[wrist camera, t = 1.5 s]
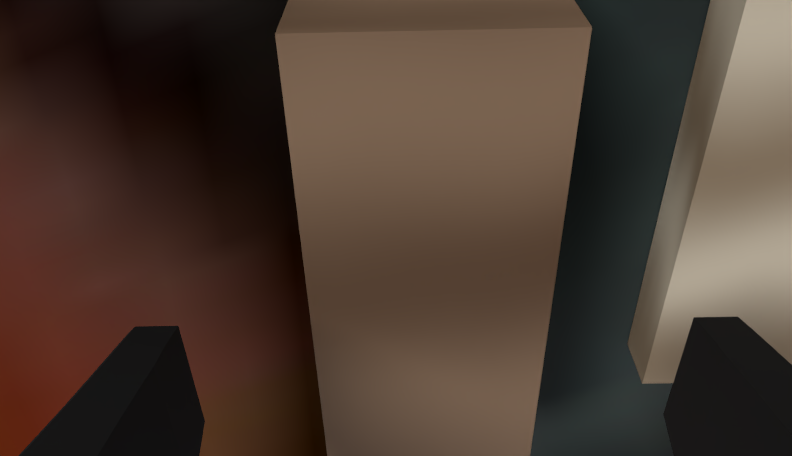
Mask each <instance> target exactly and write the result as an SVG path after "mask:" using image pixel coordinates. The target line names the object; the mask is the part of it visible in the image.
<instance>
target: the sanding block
mask: <svg viewBox="0 0 792 456" xmlns="http://www.w3.org/2000/svg"><path fill="white" fill-rule="evenodd" d="M591 31H592V26H591V25H590V23H589V22H588V20H587V19H586V17H585V16H584V14H583V13H582V11H581V10H580V8H579V7H578V5H577V4H576V2H575V1H574V0H288V2H287V5H286V7H285V10H284V12H283V15H282V17H281V20H280V22H279V25H278V27H277V30H276V33H275V38H276V46H277V54H278V62H279V70H280V78H281V86H282V94H283V102H284V110H285V118H286V126H287V134H288V142H289V150H290V158H291V166H292V174H293V182H294V190H295V198H296V206H297V214H298V222H299V230H300V238H301V246H302V255H303V263H304V271H305V279H306V287H307V295H308V303H309V311H310V319H311V327H312V335H313V343H314V351H315V359H316V367H317V375H318V383H319V391H320V399H321V407H322V415H323V423H324V431H325V439H326V447H327V455H328V456H530V452H531V445H532V438H533V431H534V424H535V417H536V411H537V404H538V397H539V390H540V383H541V376H542V369H543V362H544V355H545V349H546V342H547V335H548V328H549V321H550V314H551V307H552V300H553V293H554V286H555V280H556V273H557V266H558V259H559V252H560V245H561V238H562V231H563V224H564V217H565V211H566V204H567V197H568V190H569V183H570V176H571V169H572V162H573V155H574V149H575V142H576V135H577V128H578V121H579V114H580V107H581V100H582V93H583V86H584V80H585V73H586V66H587V59H588V52H589V45H590V38H591Z"/></svg>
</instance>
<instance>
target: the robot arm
mask: <svg viewBox="0 0 792 456" xmlns="http://www.w3.org/2000/svg"><path fill="white" fill-rule="evenodd" d="M664 418H665V422H666V426H667V430H668V434H669V438H670V442H671V446H672V450H673V453H674V456H792V365H791V364H790V363H789V362H788V361H787V360H786V359H785V358H784V357H783V356H782V355H780V354H779V353H778V352H777V351H776V350H775V349H774V348H773V347H772V346H771V345H769V344H768V343H767V342H766V341H765V340H764V339H763V338H762V337H761V336H760V335H758V334H757V333H756V332H755V331H754V330H753V329H752V328H751V327H749V326H748V325H747V324H746V323H745V322H744V321H742V320H741V319H740V318H739V317H694V318H693V321H692V325H691V328H690V331H689V334H688V337H687V341H686V344H685V347H684V350H683V353H682V357H681V360H680V363H679V366H678V369H677V373H676V376H675V379H674V382H673V385H672V389H671V392H670V395H669V398H668V401H667V405H666V408H665V411H664ZM204 422H205V420H204V417H203V413H202V410H201V406H200V403H199V399H198V395H197V392H196V388H195V385H194V381H193V377H192V374H191V370H190V367H189V363H188V359H187V356H186V352H185V349H184V345H183V342H182V338H181V334H180V331H179V327H178V326H148V327H134V328H133V329H132V330H131V331H130V332H129V333H128V335H127V336H126V337H125V338H124V339H123V340H122V341H121V342H120V343H119V345H118V346H117V347H116V348H115V349H114V350H113V351H112V352H111V354H110V355H109V356H108V357H107V358H106V359H105V360H104V362H103V363H102V364H101V365H100V366H99V367H98V369H97V370H96V371H95V372H94V373H93V374H92V375H91V377H90V378H89V379H88V380H87V381H86V382H85V383H84V384H83V386H82V387H81V388H80V389H79V390H78V391H77V392H76V393H75V395H74V396H73V397H72V398H71V399H70V400H69V401H68V403H67V404H66V405H65V406H64V407H63V408H62V409H61V410H60V411H59V413H58V414H57V415H56V416H55V417H54V418H53V419H52V420H51V421H50V422H49V423H48V424H47V426H46V427H45V428H44V429H43V430H42V431H41V432H40V433H39V434H38V435H37V436H36V437H35V439H34V440H33V441H32V442H31V443H30V444H29V445H28V446H27V447H26V448H25V449H24V450H23V452H22V453H21V454H20V455H19V456H199V453H200V447H201V441H202V435H203V428H204Z"/></svg>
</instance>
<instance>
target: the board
mask: <svg viewBox="0 0 792 456" xmlns="http://www.w3.org/2000/svg"><path fill="white" fill-rule="evenodd" d="M694 317H739V318H740V319H741V320H742V321H744V322H745V323H746V324H747V325H748V326H749V327H751V328H752V329H753V330H754V331H755V332H756V333H757V334H758V335H760V336H761V337H762V338H763V339H764V340H765V341H766V342H767V343H768V344H769V345H771V346H772V347H773V348H774V349H775V350H776V351H777V352H778V353H779V354H780V355H782V356H783V357H784V358H785V359H786V360H787V361H788V362H789V363H790V364H791V365H792V0H710V5H709V9H708V13H707V17H706V21H705V25H704V29H703V33H702V38H701V42H700V46H699V50H698V54H697V58H696V62H695V67H694V71H693V75H692V79H691V83H690V87H689V91H688V96H687V100H686V104H685V108H684V112H683V116H682V120H681V125H680V129H679V133H678V137H677V141H676V145H675V149H674V153H673V158H672V162H671V166H670V170H669V174H668V178H667V182H666V187H665V191H664V195H663V199H662V203H661V207H660V211H659V216H658V220H657V224H656V228H655V232H654V236H653V240H652V245H651V249H650V253H649V257H648V261H647V265H646V269H645V273H644V278H643V282H642V286H641V290H640V294H639V298H638V302H637V307H636V311H635V315H634V319H633V323H632V327H631V331H630V336H629V340H628V347H629V349H630V352H631V355H632V357H633V360H634V363H635V365H636V368H637V370H638V373H639V376H640V378H641V381H642V384H646V383H673V382H674V379H675V376H676V373H677V369H678V366H679V363H680V360H681V357H682V353H683V350H684V347H685V344H686V341H687V337H688V334H689V331H690V328H691V325H692V321H693V318H694Z"/></svg>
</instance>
